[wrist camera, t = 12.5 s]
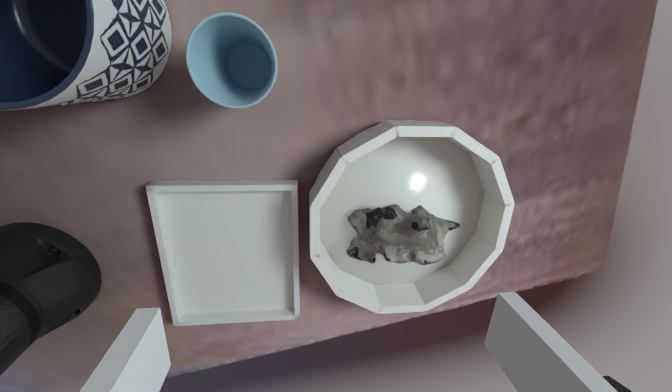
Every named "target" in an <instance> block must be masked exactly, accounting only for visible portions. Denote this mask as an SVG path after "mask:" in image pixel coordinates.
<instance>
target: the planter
mask: <svg viewBox="0 0 672 392" xmlns="http://www.w3.org/2000/svg"><path fill="white" fill-rule="evenodd" d="M171 39H172V37H171V24H170V19H169V14H168V11H167V8H166V5H165V2H164V0H0V110H19V109H31V108H42V107H51V106H60V105H69V104H78V103H87V102H96V101H105V100H113V99H120V98H125V97H130V96H133V95H135V94H138V93H140V92H142V91H143V90H145V89H146V88H148V87H149V86H151V85H152V84H153V83H154V82H155V81H156V80H157V79H158V77H159V76H160V74H161V73H162V72H163V70H164V68H165V65H166V63H167V61H168V57H169V54H170V50H171Z"/></svg>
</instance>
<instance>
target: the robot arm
mask: <svg viewBox="0 0 672 392" xmlns="http://www.w3.org/2000/svg"><path fill="white" fill-rule="evenodd" d="M100 287H101V273H100V269H99V266H98V264H97V262H96V260H95V258H94V257H93V255H92V254H91V253H90V252H89V250H88V249H87V248H86V247H85V246H84V245H83V244H81V243H80V242H79V241H78V240H76V239H75V238H73V237H72V236H70V235H68V234H67V233H65V232H63V231H60V230H58V229H55V228H53V227H49V226H46V225H42V224H36V223H13V224H8V225H4V226H1V227H0V375H1V374H2V373H3V372H4V371H5V370H6V369H7V368H8V367H9V366H10V365H11V364H12V363H13V362H14V361H15V360H16V359H17V358H18V357H19V356H20V355H21V354H22V353H23V352H24V351H25V350H26V349H27V348H28V347H29V346H30V345H31V344H32V343H33V342H34V341H35V340H37V339H38V338H40V337H42V336H44V335H46V334H47V333H49V332H51V331H53V330H55V329H56V328H58V327H60V326H62V325H64V324H65V323H67V322H69V321H71V320H73V319H74V318H76V317H77V316H79V315H80V314H81V313H82V312H83V311H84V310H85V309H86V308H87V307H88V306H89V305H90V304H91V303H92V302H93V301H94V299H95V298H96V297H97V295H98V293H99V291H100ZM484 345H485V346H486V348H487V349H488V350H489V352H490V353H491V355H492V356H493V357H494V359H495V360H496V362H497V363H498V364H499V366H500V367H501V369H502V370H503V371H504V373H505V374H506V376H507V377H508V379H509V380H510V381H511V383H512V384H513V385H514V387H515V388H516V390H517V391H518V392H631V391H630V390H628V389H627V388H626V387H624V386H623V385H621V384H620V383H618V382H617V381H615V380H614V379H612V378H611V377H609V376H601V375H600V374H599V373H598V372H597V371H596V370H595V369H594V368H593V367H592V366H591V365H590V364H589V363H588V362H587V361H585V359H584V358H583V357H582V356H580V355H579V354H578V353H577V352H576V351H575V350H574V349H573V348H572V347H571V346H570V345H569V344H568V343H567V342H566V341H565V340H564V339H563V338H562V337H561V336H560V335H559V334H558V333H557V332H556V331H555V330H554V329H553V328H552V327H551V326H550V325H549V324H548V323H547V322H546V321H544V320H543V319H542V318H541V317H540V316H539V315H538V314H537V313H536V312H535V311H534V310H533V309H532V308H531V307H530V306H529V305H528V304H527V303H526V302H525V301H524V300H523V299H522V298H521V297H520V296H519V295H518V294H517V293H516V292H510V293H498V297H497V300H496V304H495V307H494V311H493V314H492V318H491V321H490V325H489V329H488V332H487V336H486V339H485V343H484ZM170 366H171V363H170V358H169V353H168V348H167V342H166V337H165V332H164V326H163V321H162V316H161V310H160V308H139V309H136V311H135V312H134V314H133V315H132V316H131V318H130V319H129V321H128V322H127V324H126V325H125V327H124V328H123V330H122V331H121V332H120V334H119V335H118V337H117V338H116V340H115V341H114V343H113V344H112V346H111V347H110V348H109V350H108V351H107V353H106V354H105V356H104V357H103V359H102V360H101V361H100V363H99V364H98V366H97V367H96V369H95V370H94V372H93V373H92V375H91V376H90V377H89V379H88V380H87V382H86V383H85V385H84V386H83V388H82V389H81V390H80V392H159V391H160V389H161V386H162V384H163V381H164V379H165V377H166V375H167V372H168V370H169V368H170Z"/></svg>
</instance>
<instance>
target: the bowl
mask: <svg viewBox="0 0 672 392" xmlns="http://www.w3.org/2000/svg"><path fill="white" fill-rule="evenodd" d="M393 204H396V205H399V206H400V208H401V209H402V210H404V211H405V212H407V213H409V214H412V212H411V210H412V209H414V208H416V207H417V206H419V205H421V206H422V207H423V208H424V209H425V210H427V211H428V212H429V213H430V214H433V215H435V216H436V217H438V218H441V219H445V220H449V221H454V222H456V223H459V224H460V227H459V228H456V229H453V230H452V231H449V232H448V233H447V234H446V236H445V238H444V249H445V250H444V252H445V254H446V256H445V257H444V258H443V259H441V260H440V261H438V262H436V263H432V264H428V265H420V264H418V263H416V262H407V263H402V264H398V263H395V262H388V261H386V260H385V258H384V256H383V255H381V254H379V253H378V254H376V256H375V257H376V261H375V263H369V262H367V261H361V260H358V259H354V258H351V257H349V256H348V255H347V253H346V250H347V249H348V247H349V245H350V243H351V242H352V240H353V239H354V238H356V236H357V232H356V231H355V229H354V228H353V227H352V225H351V224H350V223H349V221H348V219H347V218H348V216H350V215H351V214H352V213H353V212H354V211H355V210H360V209H366V208H370V209H372V210H373V209H375V208H378V207H380V208H383V207H387V206H390V205H393ZM514 205H515V204H514V200H513V197H512V194H511V191H510V188H509V184H508V181H507V178H506V175H505V172H504V169H503V166H502V163H501V160H500V158H499V156H497V155H496V154H494V153H493V152H492V151H490V150H489V149H487V148H486V147H484V146H483V145H481V144H480V143H479V142H477V141H476V140H474V139H473V138H471V137H470V136H469V135H467V134H466V133H464V132H463V131H461V130H460V129H459V128H457V127H455V126H451V125H448V124H445V123H442V122H439V121H418V120H385V121H383V122H381V123H379V124H377V125H376V126H373V127H370V128H368V129H366V130H364V131H362V132H360V133H358V134H356V135H355V136H353V137H352V138H350V139H349V140H347V141H346V142H345V143H344V144H342V145H340V146H338V147H337V149H335V151H334V152H333V154H332V155H331V157H330V158H329V159H328V160H327V162H326V163H325V165H324V166H323V168H322V169H321V171H320V173H319V175H318V177H317V179H316V181H315V183H314V185H313V187H312V188H311V190H310V192H309V244H310V257H311V260H312V261H313V263H314V264H315V265H316V267H317V268H318V270H319V271H320V273H321V274H322V276H323V277H324V278H325V280H326V281H327V283H328V284H329V286H330V287H331V289H332V290H333V292H334V293H335V294H336V295H337V296H338V297H341V298H343V299H345V300H347V301H350V302H352V303H354V304H357V305H359V306H361V307H364V308H366V309H368V310H370V311H373V312H375V313H377V314H378V313H379V314H386V313H404V312H422V311H428V310H430V309H432V308H434V307H436V306H438V305H440V304H442V303H444V302H446V301H448V300H450V299H452V298H454V297H456V296H458V295H460V294H462V293H464V292H466V291H468V290H470V289H471V288H472V287H473V286H474V284H475V283H476V282H477V281H478V280H479V278H480V277H481V276H482V275H483V274H484V273H485V271H486V270H487V269H488V268H489V267H490V266H491V264H492V263H493V262H494V261H495V260H496V259H497V257H498V256H499V255H500V254H501V253H502V251H503V248H504V244H505V240H506V236H507V232H508V228H509V224H510V220H511V216H512V212H513V208H514ZM469 288H470V289H469Z"/></svg>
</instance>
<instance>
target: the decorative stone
mask: <svg viewBox="0 0 672 392" xmlns="http://www.w3.org/2000/svg"><path fill="white" fill-rule="evenodd" d="M411 212H412V214H409V213H407V212H405V211H404V210H402V209H401V208H400V206H399V205H396V204H393V205H390V206H387V207H383V208H380V207H378V208H375V209H373V210H372V209H370V208H366V209H360V210H355V211H354V212H353V213H352V214H351V215H350V216H348V218H347V219H348V221H349V223H350V224H351V225H352V227H353V228H354V229H355V231H356V232H357V236H356V238H354V239H353V240H352V242H351V243H350V245H349V247H348V249H347V250H346V253H347V255H348V256H349V257H351V258H354V259H358V260H361V261H367V262H369V263H375V261H376V257H375V256H376V254H378V253H379V254H381V255H383V256H384V258H385V260H386V261H388V262H395V263H398V264H402V263H407V262H416V263H418V264H420V265H428V264H432V263H436V262H438V261H440V260H441V259H443V258H444V257H445V256H446V254H445V252H444V250H445V249H444V238H445V236H446V234H447V233H448V232H449V231H452V230H453V229H456V228H459V227H460V224H459V223H456V222H454V221H449V220H445V219H441V218H438V217H436V216H435V215H433V214H430V213H429V212H428V211H427V210H425V209H424V208H423V207H422V206H421V205H419V206H417V207H416V208H414V209H412V210H411Z"/></svg>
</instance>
